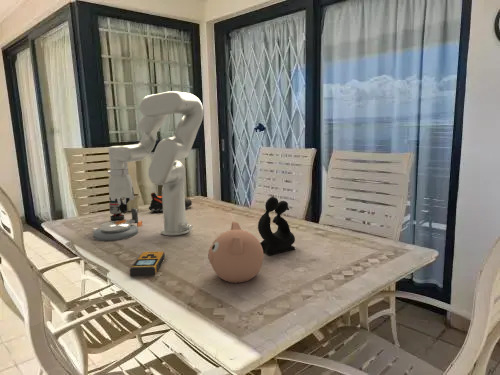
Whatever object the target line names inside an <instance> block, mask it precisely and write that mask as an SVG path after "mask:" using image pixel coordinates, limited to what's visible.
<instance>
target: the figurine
mask: <svg viewBox="0 0 500 375" xmlns="http://www.w3.org/2000/svg"><path fill="white" fill-rule="evenodd" d="M264 206H265V212H264V213H263V214H262V216H260V218H259V220H258V223H257V230H258V233H259V235H260V237H261V238H262V241H261V242H260V244H261V246H262V249H263V253H265V254H266V255H268V256H271V255H274V254H275V255H276V254H279V253H284V252H288V251H293V250H292V249H294V250H296V249H295V248H296V247H295V246H293V245H294V243H295V241H296V236H295V235H294V233H293V232H291V229H290V228H291V227H290V225H289V223H288V221H287V220H286V219H285V218H283V216H281V215H282V214H283V213H285V212H287V211H290V208H289V202H287V201H286V200H280V201H279V200H278V198H277V197H275V196H271V197H269V198H268V199H267V200H266V202H265V205H264ZM273 211H274V213H275V214H276V215H275V216H274V217H273V219H272V218H271V217H270V213H271V212H273ZM271 220H272V223H274V224H275V225H276V226H277V229H276V230H275V232H273V231H272V228H271Z"/></svg>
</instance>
